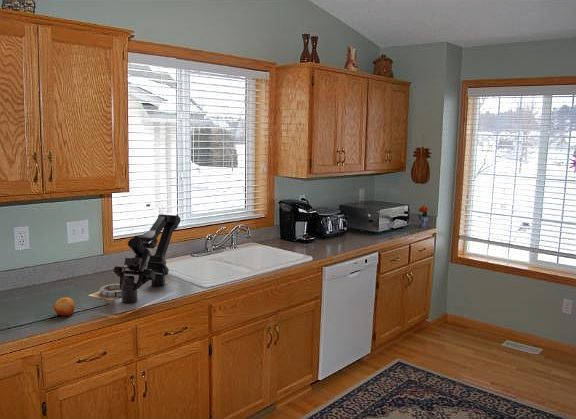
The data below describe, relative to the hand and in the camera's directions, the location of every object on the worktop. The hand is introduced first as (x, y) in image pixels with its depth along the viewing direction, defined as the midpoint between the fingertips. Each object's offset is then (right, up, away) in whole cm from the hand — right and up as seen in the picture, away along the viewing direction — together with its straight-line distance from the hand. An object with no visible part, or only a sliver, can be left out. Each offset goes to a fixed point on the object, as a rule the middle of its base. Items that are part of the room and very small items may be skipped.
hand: (127, 289), depth 225 cm
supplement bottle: (0, -7, +2) cm, 7 cm away
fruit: (-22, -8, -14) cm, 27 cm away
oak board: (-11, -4, +14) cm, 18 cm away
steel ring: (-10, -4, +13) cm, 17 cm away
